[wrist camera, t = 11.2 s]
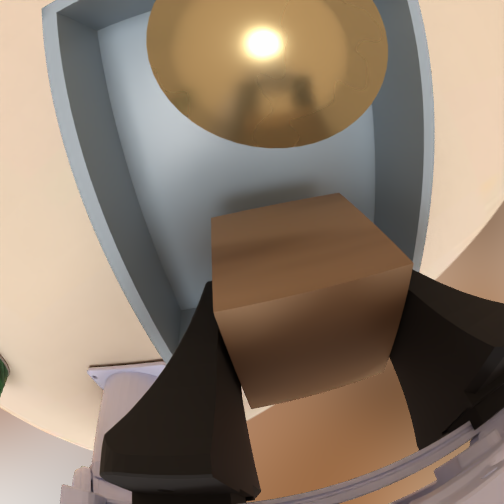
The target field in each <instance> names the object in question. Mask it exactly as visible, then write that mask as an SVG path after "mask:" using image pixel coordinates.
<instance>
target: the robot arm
mask: <svg viewBox="0 0 504 504" xmlns="http://www.w3.org/2000/svg"><path fill="white" fill-rule="evenodd" d="M389 357H390V359H391V361H392V364H393V366H394V369H395V371H396V374H397V376H398V379H399V381H400V384H401V387H402V390H403V392H404V395H405V398H406V401H407V405H408V408H409V412H410V415H411V419H412V423H413V427H414V432H415V437H416V442H417V446H418V448H419V451H418V452H416V453H414V454H412V455H410V456H408V457H406V458H403V459H401V460H399V461H397V462H395V463H392V464H390V465H388V466H385V467H383V468H381V469H378V470H376V471H373V472H371V473H368V474H365V475H363V476H360V477H357V478H354V479H351V480H349V481H345V482H342V483H339V484H336V485H332V486H329V487H326V488H322V489H318V490H314V491H310V492H306V493H302V494H297V495H292V496H287V497H282V498H277V499H270V500H264V501H256V502H248V503H246V501H251V500H255V498H256V497H257V496H258V495H259V493H260V492H261V489H260V485H259V481H258V476H257V472H256V468H255V464H254V459H253V454H252V449H251V444H250V439H249V434H248V429H247V424H246V418H245V412H244V406H243V400H242V391H241V383H240V381H239V378H238V376H237V373H236V371H235V368H234V366H233V363H232V361H231V358H230V356H229V353H228V350H227V348H226V345H225V343H224V340H223V337H222V335H221V332H220V329H219V326H218V324H217V321H216V318H215V316H214V313H213V289H212V281H208V282H207V283H206V284H205V287H204V290H203V292H202V295H201V298H200V300H199V303H198V305H197V308H196V310H195V312H194V315H193V317H192V319H191V321H190V324H189V326H188V328H187V330H186V332H185V334H184V336H183V338H182V339H181V341H180V343H179V345H178V347H177V349H176V350H175V352H174V354H173V355H172V357H171V359H170V360H169V362H168V363H167V365H166V363H165V362H163V361H160V362H151V363H142V364H132V365H120V366H107V367H91V368H88V370H87V373H88V375H89V376H90V377H91V378H92V379H93V380H94V381H95V382H96V383H97V384H98V385H99V386H100V387H101V388H102V389H103V395H102V401H101V406H100V411H99V417H98V423H97V429H96V436H95V443H94V451H93V460H92V464H91V466H90V467H89V468H88V467H85V466H81V468H79V469H77V470H75V472H74V477H73V483H72V487H71V486H68V485H64V484H63V485H62V487H61V500H60V504H339V503H342V502H345V501H348V500H352V499H354V498H357V497H360V496H363V495H366V494H368V493H371V492H374V491H376V490H379V489H381V488H383V487H386V486H388V485H390V484H392V483H395V482H397V481H399V480H401V479H404V478H406V477H408V476H410V475H411V474H414V473H416V472H417V471H420V470H421V469H423V468H425V467H427V466H429V465H431V464H432V463H434V462H436V461H438V460H439V459H441V458H443V457H444V456H446V455H448V454H449V453H451V452H452V451H454V450H456V449H457V448H459V447H460V446H462V445H463V444H464V443H466V442H468V441H469V440H470V439H471V441H470V446H469V448H467V449H466V450H464V451H463V452H462V453H460V454H459V455H457V456H456V457H454V458H453V459H451V460H450V461H448V462H446V463H445V464H443V465H442V466H440V467H438V468H436V469H435V471H434V473H435V476H436V478H437V480H436V481H434V482H432V483H431V484H429V485H427V486H425V487H423V488H421V489H419V490H417V491H415V492H413V493H412V494H409V495H407V496H405V497H403V498H401V499H398V500H396V501H394V502H392V503H389V504H504V304H503V303H499V302H494V301H490V300H486V299H483V298H479V297H476V296H473V295H470V294H467V293H464V292H461V291H459V290H456V289H454V288H451V287H449V286H446V285H444V284H441V283H439V282H437V281H435V280H433V279H431V278H429V277H427V276H425V275H423V274H421V273H419V272H417V271H415V270H413V269H412V274H411V279H410V284H409V288H408V292H407V297H406V301H405V305H404V309H403V312H402V316H401V320H400V323H399V327H398V330H397V334H396V337H395V340H394V343H393V346H392V350H391V353H390V356H389Z"/></svg>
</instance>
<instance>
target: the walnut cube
mask: <svg viewBox="0 0 504 504" xmlns="http://www.w3.org/2000/svg"><path fill="white" fill-rule="evenodd" d="M211 252H212V289H213V313H214V316H215V318H216V321H217V324H218V326H219V329H220V332H221V335H222V337H223V340H224V343H225V345H226V348H227V350H228V353H229V356H230V358H231V361H232V363H233V366H234V368H235V371H236V373H237V376H238V378H239V381H240V383H241V386H242V388H243V390H244V393H245V395H246V398H247V400H248V402H249V405H250V407H251V409H254V408H259V407H264V406H269V405H274V404H279V403H283V402H287V401H292V400H296V399H300V398H304V397H308V396H311V395H315V394H319V393H322V392H326V391H329V390H332V389H336V388H339V387H342V386H345V385H348V384H351V383H355V382H357V381H360V380H363V379H366V378H369V377H372V376H374V375H377V374H380V373H383V372H384V370H385V367H386V364H387V361H388V358H389V356H390V353H391V350H392V346H393V343H394V340H395V337H396V334H397V330H398V327H399V323H400V320H401V316H402V312H403V309H404V305H405V301H406V297H407V292H408V288H409V284H410V279H411V274H412V269H413V264H414V263H413V262H412V261H411V260H410V259H409V258H408V257H407V256H406V255H405V254H404V253H403V252H402V251H401V250H400V249H399V248H398V247H397V246H396V245H395V244H394V243H393V242H392V241H391V240H390V239H389V238H388V237H387V236H386V235H385V234H384V233H383V232H382V231H381V230H380V229H379V228H378V227H377V226H376V225H375V224H374V223H373V222H372V221H370V220H369V219H368V218H367V217H366V216H365V215H364V214H363V213H362V212H361V211H359V210H358V209H357V208H356V207H355V206H354V205H353V204H352V203H351V202H349V201H348V200H347V199H346V198H345V197H344V196H342V195H341V194H340V193H334V194H328V195H323V196H317V197H312V198H306V199H301V200H295V201H290V202H285V203H280V204H275V205H269V206H264V207H260V208H255V209H250V210H245V211H240V212H236V213H231V214H226V215H222V216H217V217H213V218H211Z"/></svg>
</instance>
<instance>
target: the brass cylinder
mask: <svg viewBox="0 0 504 504" xmlns="http://www.w3.org/2000/svg"><path fill="white" fill-rule="evenodd" d="M146 47H147V53H148V59H149V63H150V66H151V69H152V72H153V75H154V77H155V79H156V81H157V83H158V85H159V87H160V88H161V90H162V91H163V92H164V94H165V95H166V97H167V98H168V100H169V101H170V102H171V103H172V104H173V105H174V106H175V107H176V108H177V109H178V110H179V111H180V112H181V113H182V114H183V115H184V116H186V117H187V118H188V119H189V120H191V121H192V122H193V123H195V124H196V125H198V126H200V127H201V128H203V129H204V130H206V131H208V132H210V133H212V134H214V135H216V136H219V137H221V138H223V139H226V140H229V141H232V142H235V143H239V144H243V145H248V146H252V147H261V148H291V147H300V146H304V145H308V144H313V143H316V142H319V141H322V140H324V139H327V138H330V137H331V136H333V135H335V134H337V133H339V132H341V131H343V130H344V129H346V128H347V127H348V126H350V125H351V124H353V123H354V122H355V121H356V120H357V119H358V118H359V117H361V116H362V115H363V114H364V112H365V111H366V110H367V109H368V108H369V106H370V105H371V104H372V102H373V101H374V99H375V97H376V96H377V94H378V92H379V90H380V88H381V85H382V83H383V80H384V77H385V73H386V69H387V62H388V42H387V36H386V30H385V27H384V24H383V21H382V18H381V16H380V13H379V11H378V9H377V7H376V5H375V3H374V2H373V0H156V1H155V3H154V5H153V8H152V10H151V13H150V16H149V20H148V26H147V32H146Z"/></svg>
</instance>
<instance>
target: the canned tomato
mask: <svg viewBox="0 0 504 504" xmlns="http://www.w3.org/2000/svg"><path fill="white" fill-rule="evenodd" d="M9 373H10V371H9V367H8V365H7V363H6V362H5V360H4V359H3V358H2V356H1V355H0V396H1V393H2V391H3V388H4V386H5V382H6V380H7V377H8V376H9Z"/></svg>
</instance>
